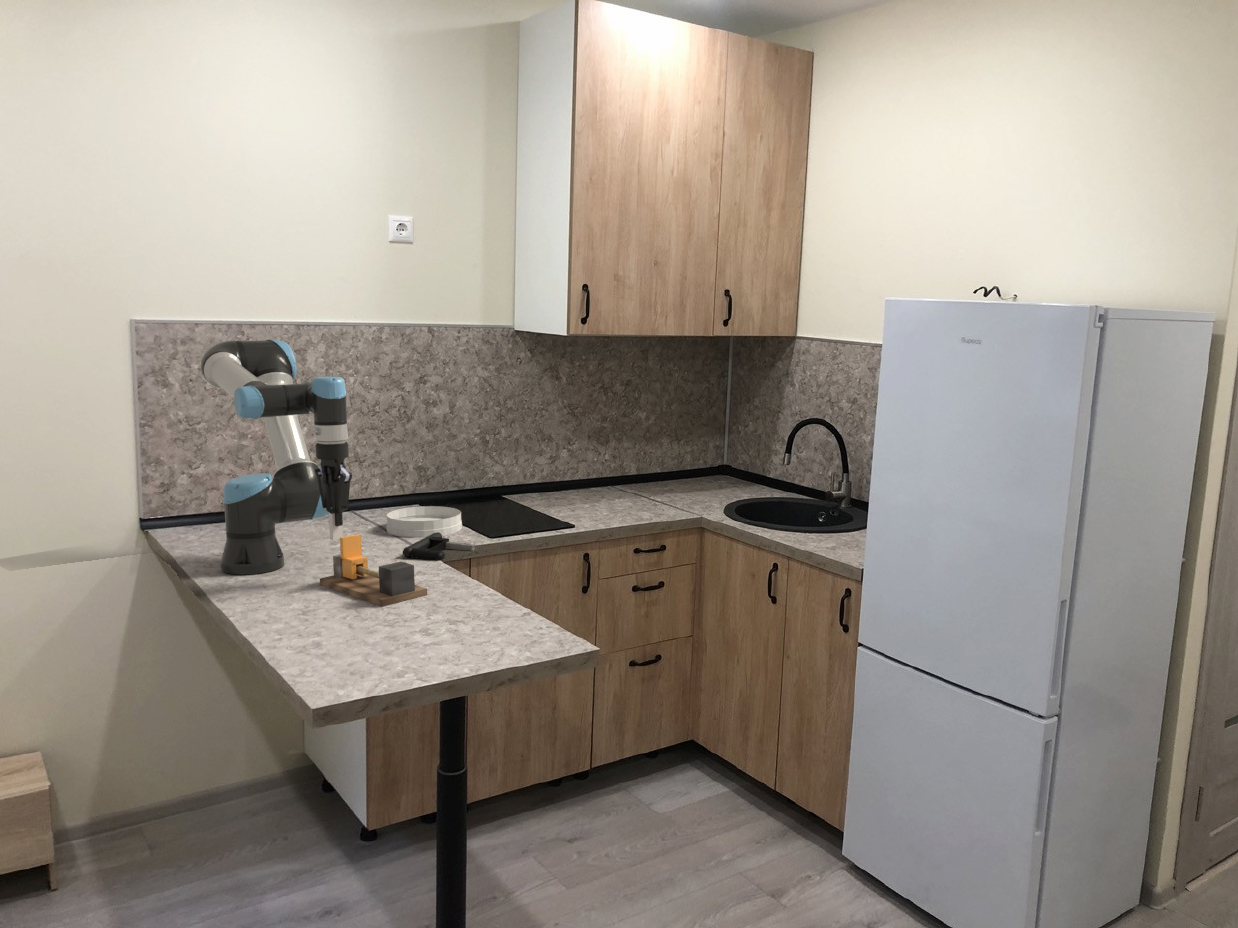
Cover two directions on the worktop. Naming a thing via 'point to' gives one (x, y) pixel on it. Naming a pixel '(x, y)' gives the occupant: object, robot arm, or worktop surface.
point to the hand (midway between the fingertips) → (336, 538)
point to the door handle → (434, 547)
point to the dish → (423, 521)
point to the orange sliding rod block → (352, 556)
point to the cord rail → (376, 583)
